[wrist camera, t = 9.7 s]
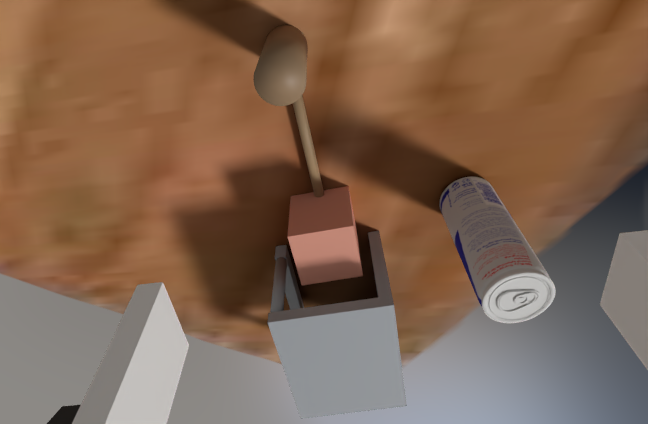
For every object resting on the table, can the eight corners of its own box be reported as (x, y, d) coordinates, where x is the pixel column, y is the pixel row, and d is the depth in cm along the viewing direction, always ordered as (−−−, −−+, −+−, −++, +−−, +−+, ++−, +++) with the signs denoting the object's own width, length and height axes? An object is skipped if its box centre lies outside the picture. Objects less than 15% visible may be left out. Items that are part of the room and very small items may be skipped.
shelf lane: (275, 246, 51) (267, 322, 42) (378, 230, 50) (393, 305, 41) (303, 338, 59) (301, 419, 50) (391, 326, 58) (406, 406, 49)
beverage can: (427, 203, 48) (466, 307, 36) (465, 164, 46) (522, 261, 33) (465, 228, 50) (515, 335, 38) (504, 192, 48) (572, 293, 35)
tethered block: (246, 32, 39) (230, 63, 31) (316, 18, 38) (317, 45, 30) (303, 241, 51) (301, 300, 43) (357, 232, 50) (364, 290, 43)
